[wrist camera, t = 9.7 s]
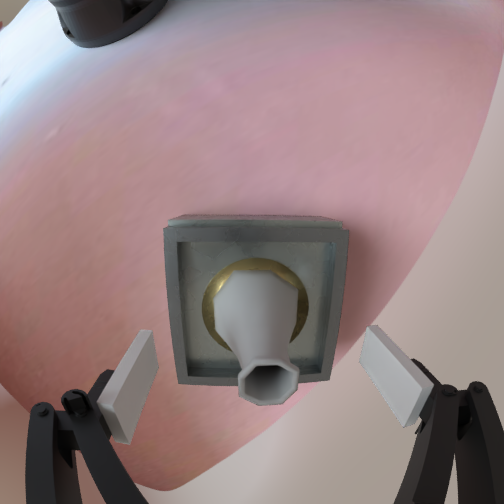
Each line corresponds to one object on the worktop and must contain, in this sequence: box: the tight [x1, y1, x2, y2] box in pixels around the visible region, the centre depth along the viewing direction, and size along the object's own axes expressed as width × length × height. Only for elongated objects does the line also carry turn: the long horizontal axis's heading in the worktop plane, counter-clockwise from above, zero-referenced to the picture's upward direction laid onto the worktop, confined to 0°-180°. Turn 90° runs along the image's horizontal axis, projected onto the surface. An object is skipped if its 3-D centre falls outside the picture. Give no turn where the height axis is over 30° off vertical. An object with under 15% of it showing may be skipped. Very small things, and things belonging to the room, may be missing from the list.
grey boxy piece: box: [163, 215, 349, 386], centre depth 25 cm, size 15×14×8 cm
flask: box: [213, 270, 299, 406], centre depth 17 cm, size 7×7×10 cm
